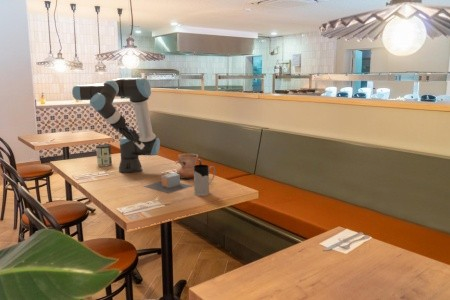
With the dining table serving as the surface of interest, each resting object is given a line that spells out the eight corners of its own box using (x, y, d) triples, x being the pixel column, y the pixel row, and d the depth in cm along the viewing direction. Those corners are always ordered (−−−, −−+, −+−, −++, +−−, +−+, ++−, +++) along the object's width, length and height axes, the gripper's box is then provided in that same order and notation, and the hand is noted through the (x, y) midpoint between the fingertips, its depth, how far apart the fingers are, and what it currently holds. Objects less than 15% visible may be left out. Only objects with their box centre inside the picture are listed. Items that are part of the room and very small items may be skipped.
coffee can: (105, 162, 282) (104, 143, 280) (115, 163, 277) (113, 145, 274) (94, 165, 274) (92, 146, 271) (103, 166, 268) (102, 147, 266)
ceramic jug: (180, 181, 227) (179, 158, 224) (171, 176, 239) (171, 154, 236) (207, 178, 235) (207, 156, 232) (197, 173, 248) (197, 152, 245)
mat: (143, 187, 216) (143, 186, 216) (167, 180, 230) (167, 179, 230) (168, 194, 202) (168, 193, 202) (192, 186, 216) (192, 186, 216)
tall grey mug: (190, 193, 203) (189, 166, 201) (209, 187, 213) (209, 162, 210) (201, 196, 197) (200, 168, 194) (220, 191, 207) (220, 164, 204)
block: (161, 176, 215) (172, 172, 222) (161, 186, 216) (173, 182, 223) (167, 177, 211) (179, 174, 218) (168, 188, 212) (180, 184, 219)
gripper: (103, 124, 194) (131, 151, 209) (119, 125, 186) (146, 153, 202) (111, 113, 197) (138, 141, 213) (127, 113, 189) (154, 142, 205)
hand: (142, 147), depth 207 cm, fingers closed
